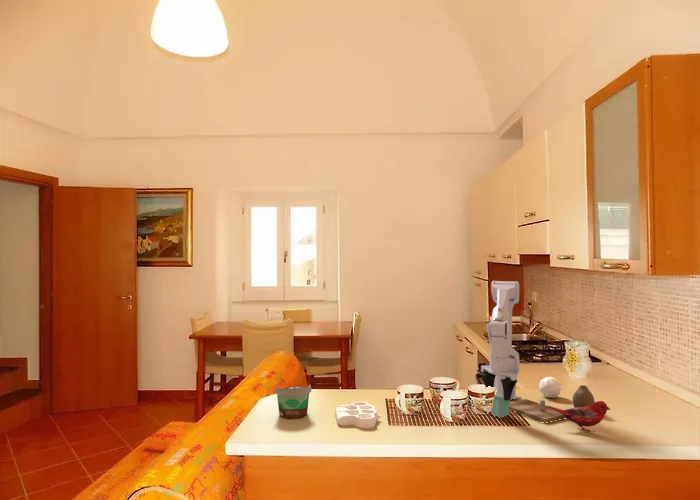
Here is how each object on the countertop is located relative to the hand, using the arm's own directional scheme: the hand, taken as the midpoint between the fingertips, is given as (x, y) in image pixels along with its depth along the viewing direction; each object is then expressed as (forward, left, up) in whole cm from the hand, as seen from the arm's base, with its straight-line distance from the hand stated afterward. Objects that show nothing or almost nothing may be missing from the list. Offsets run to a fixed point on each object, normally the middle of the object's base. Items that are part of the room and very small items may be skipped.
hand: (498, 397), depth 165 cm
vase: (+11, +29, -6) cm, 32 cm away
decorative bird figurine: (+22, +11, -6) cm, 26 cm away
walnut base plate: (+4, +13, -6) cm, 15 cm away
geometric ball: (-6, +33, -6) cm, 34 cm away
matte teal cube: (0, 0, -6) cm, 6 cm away
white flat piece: (-20, -43, -7) cm, 48 cm away
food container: (-31, -61, -6) cm, 69 cm away
